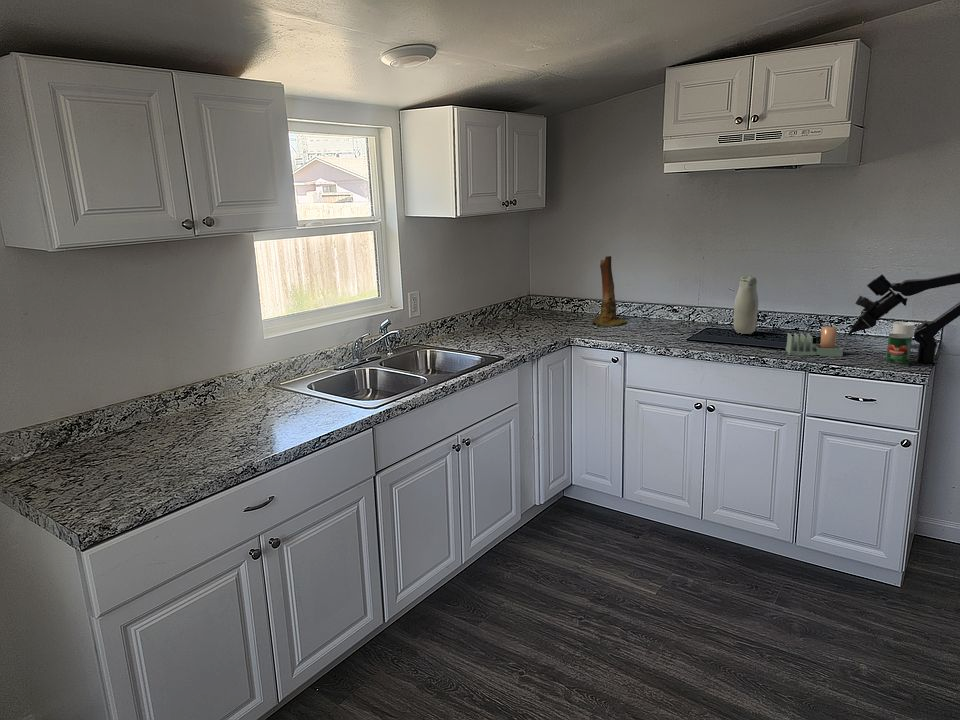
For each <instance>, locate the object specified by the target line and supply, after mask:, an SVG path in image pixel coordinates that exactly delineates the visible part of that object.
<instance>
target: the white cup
mask: <svg viewBox="0 0 960 720" xmlns="http://www.w3.org/2000/svg"><path fill="white" fill-rule="evenodd" d="M915 326H916V324H915V323H913V322H909V321H908V322H906V321H895V322H893V323H892V334H906V335H910V336H912V339H914V331H915Z"/></svg>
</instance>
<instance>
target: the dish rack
mask: <svg viewBox="0 0 960 720" xmlns="http://www.w3.org/2000/svg"><path fill="white" fill-rule="evenodd" d="M786 336H787V337H786V338H787V339H786V346H785V351H786V352H787V354H788V355H789V354H791V355H790V356H804V355H820V356H819V357H839V356H842V357H843V354H844V353H843V352H844V349H843V348H842V347H841V346H840V345H838V344H837V343H835V349H825V348H820V343H813V340H814V337H813V336H812V335H811V334H810V333H808V332H807V333H806V336H805V335H804V334H803V333H802V332H801V333H800V334H799V335H798V334H797V333H796V332H794V333H793V336H792V334H791V333H790V332H787V335H786Z"/></svg>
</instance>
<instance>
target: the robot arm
mask: <svg viewBox="0 0 960 720" xmlns="http://www.w3.org/2000/svg"><path fill="white" fill-rule="evenodd" d="M958 284H960V272H955V273H952V274H950V273H949V274H946V275H941V276H935V277H931V278H924V279H923V278H921V279H920V278H918V279H917V278H916V279H914V278H913V279H904V280H903V281H901V282H894V283H891V282H890V281H889V280H888V279H887V278H886V276H885V275H884V274H879V276H877V277H876V278H874V279H872V280H871V281H870V282H869V283H868V284H866V287H867V288H868V289H869V290H870V291H871V292H872V293H874V295H875V296H880V297H881V298H880V299H878V300H874V301H873V300H871V299H869V298H868V297H866V296H862V295H859V296H858V298H857V300H856V301H855V305H857V306H860V307H862V308H863V309H862V310H861V312H860V315H859V317H858V319H857V320H856V321H855V322H854V324H853V325H852V326H851V329H849V333H851V334H854V333H857V332H859V331H864V330H868V329H871V328H874V327H875V326H876V325H877V322H878V321H879V320H880V319H881V318H882V317H883V316H885V315H888V314H889V312H890V311H891V310H893V309H894V308H896V307H897V306H898V305H900V304H903V306H907V302H908V299H909V298H908V297H911V296H913V295H918V294H920V293H923V292H925V291H927V290H928V291H929V290H931V289H936V288H942V287H946V286H947V287H948V286H952V285H958ZM896 292H897V293H896ZM903 296H904V297H903ZM958 317H960V301H959V302H958V303H955V305H953V306H952V307H951V308H949V309H948V310H946V311H945V312H944V313H942V314H941V315H939V316H938V317H937V318H935V319H933V320H931V321H928V320H927V319H924V321H922V323H920V324H919V325H915V326H916V328H914V333H913V339H914V340H915V341H916V342H917V343H918V344H919V345H918V347H917V353H916V354H917V356H916V358H915V357H913V361H915V362H917V363H918V364H932V365H933V364H935V365H936V364H938V361H936V360H935V356H936V350H937V346H938V342H937V339H936V338H935V336H936V335H938V333H939V332H940V331H941V329H943V328H945V327H946V326H947V325H949V324H950V323H952V322H953V321H955V320H956V319H957V318H958Z"/></svg>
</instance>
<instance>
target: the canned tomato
mask: <svg viewBox="0 0 960 720" xmlns="http://www.w3.org/2000/svg"><path fill="white" fill-rule="evenodd" d="M887 338H888V339H887V344H886V346H887V347H886V355H885V362H886V364H887V363H888V364H887V365H890V364H891V366H896V365H900V366H899V367H905V366H904V365H907V366H909V365H910V359H911V357H910V356H911V348H912V341H913V338H912V336H910V335H906V334H893V333H890V334H888V337H887ZM901 365H902V366H901Z"/></svg>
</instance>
